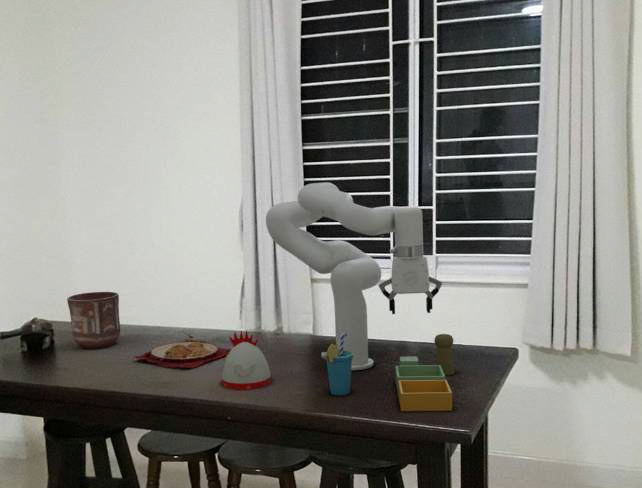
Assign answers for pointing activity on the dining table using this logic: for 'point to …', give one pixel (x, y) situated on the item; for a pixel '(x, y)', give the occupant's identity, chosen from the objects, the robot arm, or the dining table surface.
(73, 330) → the pottery
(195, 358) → the plate with food
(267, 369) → the kitchen timer
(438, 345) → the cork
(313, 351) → the dining table surface
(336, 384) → the cup
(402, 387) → the ochre bin
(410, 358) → the green block
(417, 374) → the green bin
